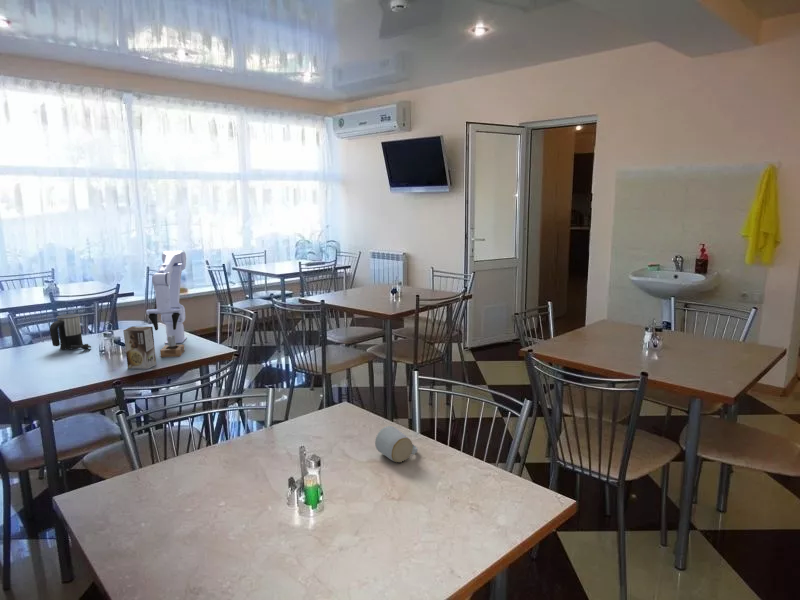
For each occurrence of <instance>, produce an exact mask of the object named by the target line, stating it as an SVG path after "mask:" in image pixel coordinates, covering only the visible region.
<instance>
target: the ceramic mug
mask: <svg viewBox="0 0 800 600" xmlns="http://www.w3.org/2000/svg"><path fill="white" fill-rule="evenodd" d="M374 440H375V441H374V444H375V448H376V450H377V451H378V452H379V453H380V454H382V455H383V456H385V457H387V458H388V459H389V460H391V461H392V462H394V463H397V462H401V463H403V462H402V461H404V460H405V461H407V460H408V459H409V458H410V456H411V455H416V454H417V452H418V447H417V445H414V444H413V442H412V440H411V439H410V437H408V436H407V435H406V434H404V433H403V432H402V431H400V430H399V429H398V428H396V427H395V426H394V425H393V426H392V425H386V426H384V427H383V428H381V429H380V430H379V432H378V433H377V435H376V437H375V439H374ZM415 453H416V454H415ZM406 459H407V460H406ZM405 461H404V462H405Z"/></svg>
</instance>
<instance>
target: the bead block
mask: <svg viewBox="0 0 800 600" xmlns="http://www.w3.org/2000/svg"><path fill="white" fill-rule="evenodd" d="M185 350H186V349H185V344H176V349H169V348H168V344H164V345H163V347H162V348H160V350H159V355H160V357H161V358H166V357H167V358H169V357H170V358H171V357H181V356H182V355H183V354H182V353H184V352H185Z"/></svg>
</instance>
